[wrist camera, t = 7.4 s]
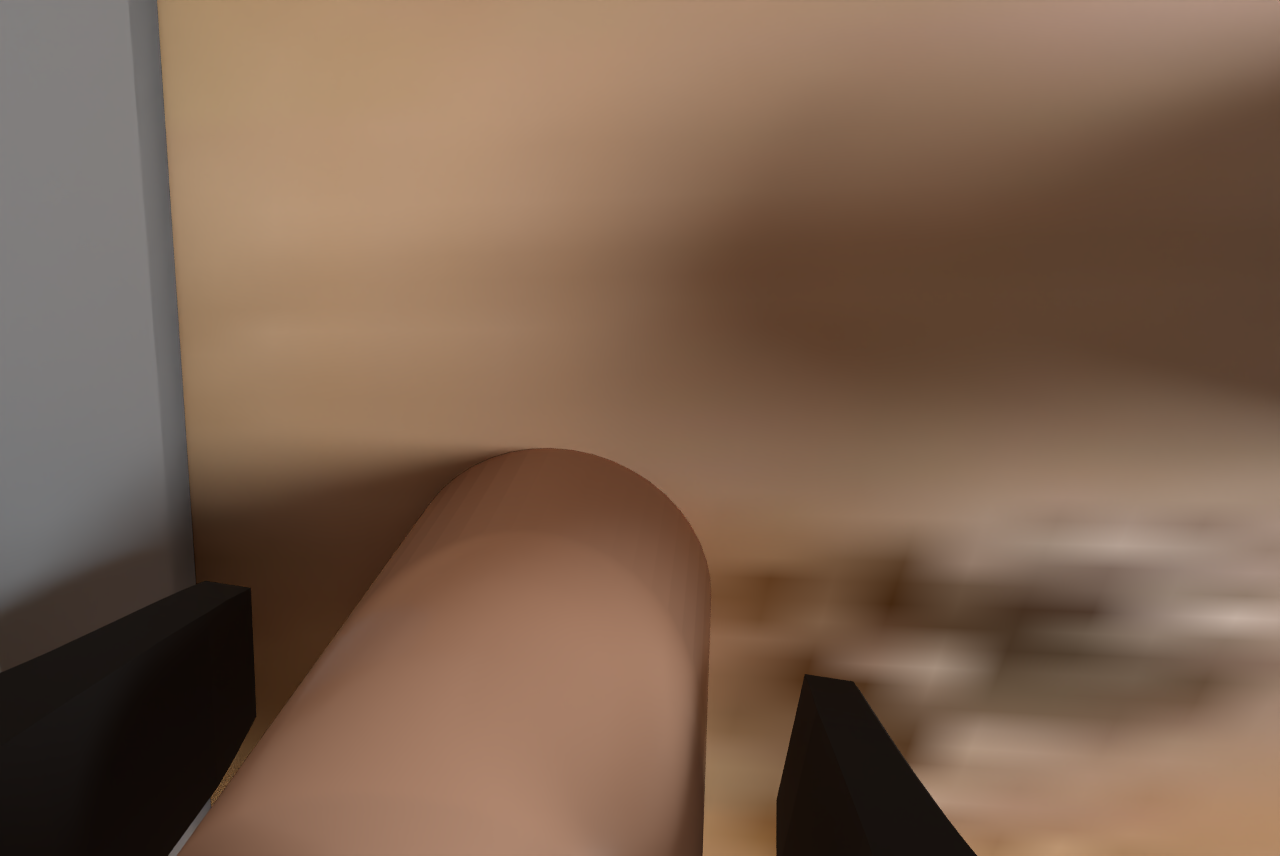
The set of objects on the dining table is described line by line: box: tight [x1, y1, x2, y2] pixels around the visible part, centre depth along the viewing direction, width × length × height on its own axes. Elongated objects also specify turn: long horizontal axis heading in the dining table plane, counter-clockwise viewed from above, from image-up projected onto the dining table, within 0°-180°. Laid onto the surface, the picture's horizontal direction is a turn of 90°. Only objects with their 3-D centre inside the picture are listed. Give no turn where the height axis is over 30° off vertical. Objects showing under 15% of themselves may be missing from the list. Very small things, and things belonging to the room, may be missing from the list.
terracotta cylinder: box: [177, 448, 711, 856], centre depth 11 cm, size 5×5×7 cm
